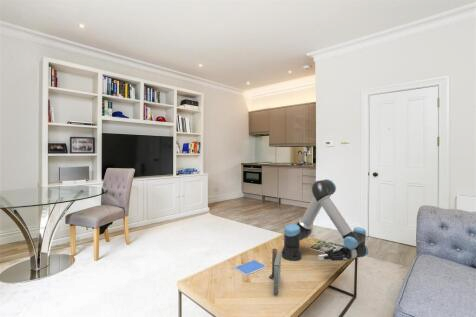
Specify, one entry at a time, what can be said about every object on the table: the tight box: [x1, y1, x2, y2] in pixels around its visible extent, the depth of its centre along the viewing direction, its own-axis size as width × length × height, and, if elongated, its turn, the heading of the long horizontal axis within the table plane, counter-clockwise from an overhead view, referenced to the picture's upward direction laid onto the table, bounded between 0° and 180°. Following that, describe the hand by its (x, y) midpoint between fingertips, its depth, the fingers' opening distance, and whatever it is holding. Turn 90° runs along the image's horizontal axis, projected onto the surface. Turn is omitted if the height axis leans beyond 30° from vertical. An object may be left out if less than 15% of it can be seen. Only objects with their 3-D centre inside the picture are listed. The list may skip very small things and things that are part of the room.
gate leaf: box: [273, 252, 282, 294], centre depth 142 cm, size 20×3×16 cm, turn 165°
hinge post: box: [268, 248, 278, 280], centre depth 152 cm, size 5×5×18 cm
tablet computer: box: [234, 259, 267, 276], centre depth 165 cm, size 19×13×1 cm, turn 129°
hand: (318, 257), depth 149 cm, fingers closed
